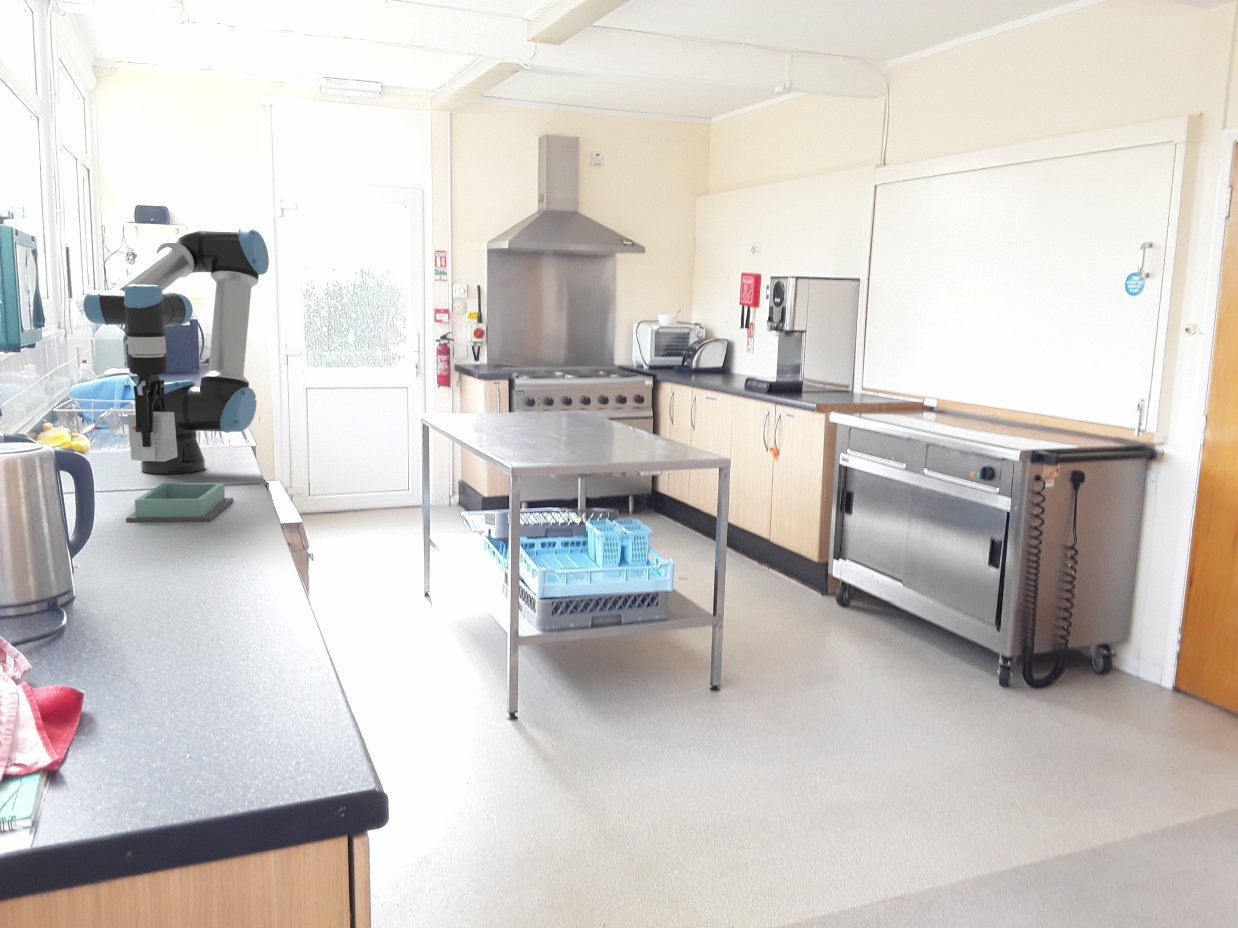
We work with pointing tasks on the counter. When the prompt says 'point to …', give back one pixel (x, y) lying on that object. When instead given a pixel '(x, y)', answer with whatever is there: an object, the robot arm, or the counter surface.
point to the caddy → (180, 503)
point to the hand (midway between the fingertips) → (154, 457)
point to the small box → (163, 436)
